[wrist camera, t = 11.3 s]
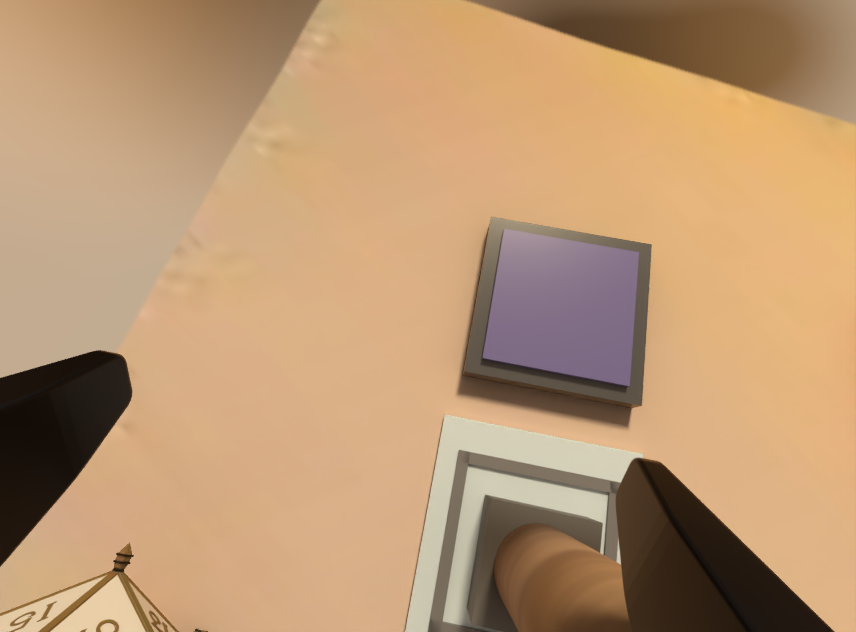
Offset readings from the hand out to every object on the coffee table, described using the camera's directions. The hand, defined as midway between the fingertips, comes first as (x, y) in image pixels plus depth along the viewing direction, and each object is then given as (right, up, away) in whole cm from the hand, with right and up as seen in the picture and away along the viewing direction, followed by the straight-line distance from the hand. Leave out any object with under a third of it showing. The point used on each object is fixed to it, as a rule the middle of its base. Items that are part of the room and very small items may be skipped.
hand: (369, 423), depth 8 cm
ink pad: (+7, +2, +15) cm, 17 cm away
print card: (+5, -8, +12) cm, 15 cm away
